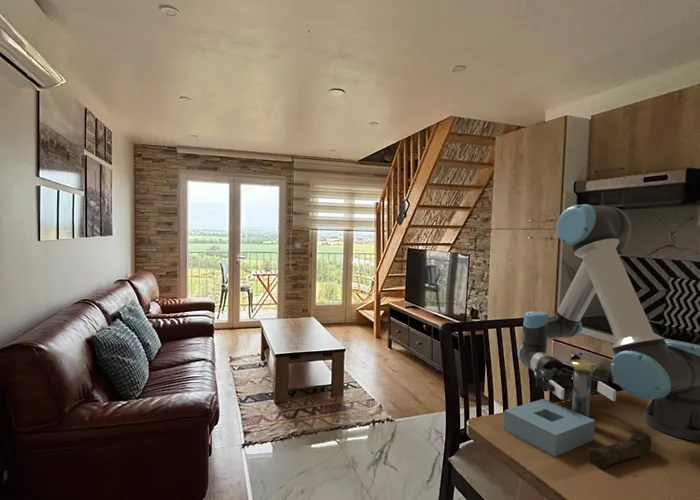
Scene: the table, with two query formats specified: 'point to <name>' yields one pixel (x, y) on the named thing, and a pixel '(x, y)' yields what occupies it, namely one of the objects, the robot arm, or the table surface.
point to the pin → (581, 386)
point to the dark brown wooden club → (621, 451)
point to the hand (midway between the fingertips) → (588, 395)
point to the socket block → (549, 426)
